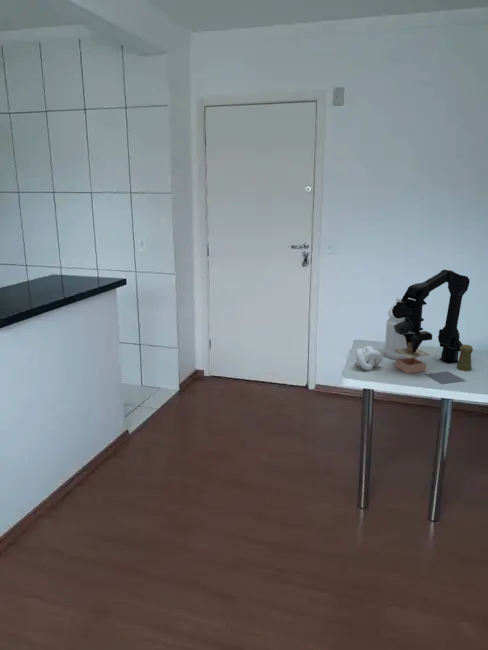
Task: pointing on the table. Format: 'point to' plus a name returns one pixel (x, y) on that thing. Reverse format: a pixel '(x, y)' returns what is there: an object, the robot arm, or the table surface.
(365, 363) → the white decorative knot
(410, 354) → the lid
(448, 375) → the mat
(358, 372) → the table surface
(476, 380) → the table surface
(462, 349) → the olive pestle
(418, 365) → the pink open box
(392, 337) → the bottle
